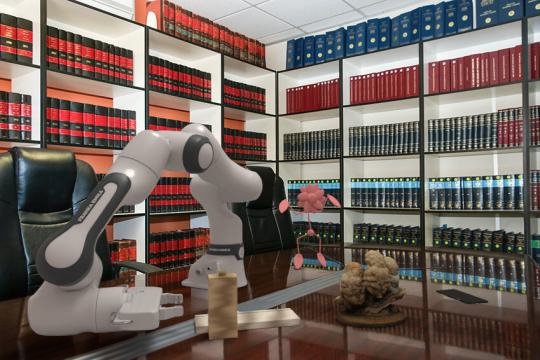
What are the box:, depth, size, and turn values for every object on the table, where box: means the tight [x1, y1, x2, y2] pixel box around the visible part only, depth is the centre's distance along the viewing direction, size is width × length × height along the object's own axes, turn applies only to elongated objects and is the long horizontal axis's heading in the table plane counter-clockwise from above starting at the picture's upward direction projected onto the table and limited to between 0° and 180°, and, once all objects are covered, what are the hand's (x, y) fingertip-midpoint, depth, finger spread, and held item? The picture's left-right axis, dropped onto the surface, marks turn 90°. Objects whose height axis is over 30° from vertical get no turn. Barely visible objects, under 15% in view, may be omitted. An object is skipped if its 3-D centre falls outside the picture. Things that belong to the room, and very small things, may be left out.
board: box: [194, 307, 301, 335], centre depth 98 cm, size 24×9×2 cm, turn 103°
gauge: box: [207, 270, 239, 340], centre depth 93 cm, size 6×12×14 cm, turn 13°
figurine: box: [278, 183, 342, 274], centre depth 165 cm, size 15×26×35 cm, turn 105°
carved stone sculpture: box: [334, 249, 407, 329], centre depth 100 cm, size 18×12×17 cm, turn 103°
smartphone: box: [435, 288, 489, 305], centre depth 120 cm, size 7×1×15 cm
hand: (183, 304), depth 88 cm, fingers open, 8 cm apart
